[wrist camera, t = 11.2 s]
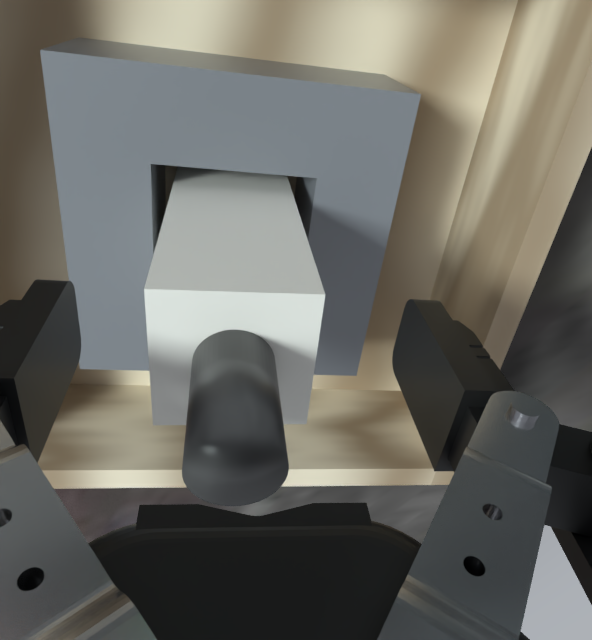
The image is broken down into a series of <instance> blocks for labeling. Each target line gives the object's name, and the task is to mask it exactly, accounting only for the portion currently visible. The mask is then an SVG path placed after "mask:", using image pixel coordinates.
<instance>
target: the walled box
mask: <svg viewBox="0 0 592 640" xmlns="http://www.w3.org/2000/svg"><path fill="white" fill-rule="evenodd" d="M78 37H80V38H88V39H96V40H105V41H113V42H121V43H129V44H137V45H146V46H154V47H162V48H170V49H179V50H187V51H195V52H203V53H212V54H220V55H228V56H236V57H244V58H253V59H261V60H269V61H277V62H286V63H294V64H302V65H310V66H319V67H327V68H335V69H343V70H351V71H360V72H368V73H376V74H384V75H386V76H388V77H390V78H392V79H394V80H396V81H397V82H399V83H401V84H403V85H405V86H407V87H409V88H410V89H412V90H414V91H416V92H418V93H420V94H421V97H420V102H419V106H418V110H417V115H416V119H415V123H414V128H413V132H412V137H411V141H410V145H409V150H408V154H407V158H406V163H405V167H404V171H403V176H402V180H401V184H400V189H399V193H398V197H397V202H396V206H395V211H394V215H393V219H392V224H391V228H390V232H389V237H388V241H387V245H386V250H385V254H384V258H383V263H382V267H381V271H380V276H379V280H378V285H377V289H376V293H375V298H374V302H373V306H372V311H371V315H370V319H369V324H368V328H367V332H366V337H365V341H364V345H363V350H362V354H361V359H360V363H359V367H358V372H357V376H339V375H314V376H313V383H312V390H311V397H310V403H309V410H308V417H307V424H283V425H284V432H285V440H286V448H287V455H288V463H289V471H288V475H287V478H286V480H285V482H284V483H283V485H282V486H367V485H449V483H450V481H451V479H452V477H453V475H454V471H434V469H433V467H432V464H431V462H430V459H429V457H428V454H427V452H426V450H425V447H424V445H423V442H422V440H421V437H420V435H419V433H418V430H417V428H416V425H415V423H414V420H413V418H412V416H411V413H410V411H409V408H408V406H407V404H406V401H405V399H404V396H403V394H402V391H401V389H400V387H399V384H398V382H397V379H396V377H395V374H394V371H393V365H392V356H393V349H394V345H395V341H396V337H397V334H398V330H399V326H400V322H401V319H402V315H403V311H404V307H405V305H406V303H407V301H408V300H409V299H419V300H438V301H440V302H441V303H442V305H443V306H444V308H445V309H446V311H447V312H448V314H449V315H450V317H451V318H452V320H458V321H460V322H461V323H462V324H464V325H465V326H466V327H467V328H469V329H470V330H471V331H473V332H474V333H475V335H476V336H477V338H478V339H479V340H480V342H481V343H482V345H483V348H485V349H486V351H487V352H488V353H489V355H490V359H493V361H494V362H495V364H496V365H497V367H498V368H499V369H501V366H502V364H503V361H504V359H505V357H506V354H507V352H508V349H509V347H510V344H511V342H512V340H513V337H514V335H515V332H516V330H517V327H518V325H519V323H520V320H521V318H522V315H523V313H524V310H525V308H526V305H527V303H528V301H529V298H530V296H531V293H532V291H533V288H534V286H535V284H536V281H537V279H538V276H539V274H540V271H541V269H542V267H543V264H544V262H545V259H546V257H547V254H548V252H549V250H550V247H551V245H552V242H553V240H554V237H555V235H556V233H557V230H558V228H559V225H560V223H561V220H562V218H563V216H564V213H565V211H566V208H567V206H568V203H569V201H570V199H571V196H572V194H573V191H574V189H575V186H576V184H577V182H578V179H579V177H580V174H581V172H582V169H583V167H584V164H585V162H586V160H587V157H588V155H589V152H590V150H591V147H592V0H0V305H2V304H3V303H5V302H7V301H8V300H21V299H22V298H23V297H24V295H25V294H26V292H27V291H28V289H29V288H30V286H31V285H32V283H33V282H34V281H35V280H37V279H40V280H59V281H69V278H68V270H67V262H66V254H65V246H64V238H63V230H62V222H61V214H60V206H59V198H58V190H57V182H56V174H55V166H54V158H53V150H52V142H51V134H50V126H49V118H48V110H47V102H46V94H45V86H44V78H43V70H42V62H41V54H40V50H41V49H44V48H47V47H50V46H53V45H57V44H60V43H63V42H66V41H69V40H72V39H75V38H78ZM177 168H178V166H169V165H165V182H166V208H167V204H168V200H169V197H170V193H171V189H172V186H173V182H174V179H175V175H176V171H177ZM287 177H288V180H289V183H290V187H291V190H292V193H293V196H295V188H296V180H297V177H296V176H287ZM185 432H186V425H153V418H152V403H151V388H150V372H149V371H138V370H98V369H80V365H79V363H78V366H77V368H76V371H75V373H74V375H73V378H72V380H71V383H70V385H69V388H68V390H67V392H66V395H65V397H64V400H63V402H62V405H61V407H60V409H59V412H58V414H57V417H56V419H55V422H54V424H53V427H52V429H51V431H50V434H49V436H48V439H47V441H46V444H45V446H44V448H43V451H42V453H41V456H40V458H39V461H38V465H39V467H40V468H41V470H42V471H43V473H44V474H45V476H46V478H47V479H48V481H49V482H50V484H51V486H52V487H53V489H63V488H164V487H186V485H185V483H184V481H183V478H182V464H183V453H184V442H185Z"/></svg>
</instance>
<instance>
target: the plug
mask: <svg viewBox="0 0 592 640" xmlns="http://www.w3.org/2000/svg"><path fill="white" fill-rule="evenodd" d="M144 297H145V312H146V327H147V342H148V357H149V372H150V388H151V403H152V418H153V425H186V432H185V442H184V453H183V464H182V478H183V481H184V483H185V485H186V487H187V488H188V489H189V490H190V491H191V492H192V493H193V494H194V495H195V496H197V497H198V498H200V499H202V500H204V501H207V502H209V503H213V504H217V505H222V506H242V505H248V504H252V503H255V502H258V501H261V500H263V499H265V498H267V497H269V496H270V495H272V494H273V493H275V492H276V491H277V490H278V489H279V488H280V487H281V486H282V485H283V483H284V482H285V480H286V478H287V475H288V471H289V463H288V455H287V448H286V440H285V432H284V425H283V424H307V417H308V410H309V403H310V397H311V390H312V383H313V376H314V369H315V362H316V356H317V349H318V342H319V335H320V328H321V321H322V314H323V308H324V301H325V292H324V289H323V286H322V282H321V279H320V276H319V273H318V270H317V267H316V264H315V261H314V258H313V255H312V251H311V248H310V245H309V242H308V239H307V236H306V233H305V230H304V227H303V224H302V221H301V217H300V214H299V211H298V208H297V205H296V202H295V199H294V196H293V193H292V190H291V187H290V183H289V180H288V177H287V176H285V175H273V174H262V173H250V172H238V171H227V170H215V169H204V168H192V167H181V166H178V168H177V171H176V175H175V179H174V182H173V186H172V189H171V193H170V197H169V200H168V204H167V208H166V211H165V215H164V218H163V222H162V226H161V229H160V233H159V237H158V240H157V244H156V247H155V251H154V255H153V258H152V262H151V266H150V269H149V273H148V276H147V280H146V284H145V287H144Z"/></svg>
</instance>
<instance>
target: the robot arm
mask: <svg viewBox="0 0 592 640" xmlns="http://www.w3.org/2000/svg"><path fill="white" fill-rule="evenodd" d="M80 354H81V333H80V326H79V318H78V310H77V302H76V295H75V288H74V285H73V283H72V282H71V281H59V280H40V279H37V280H35V281H34V282H33V283H32V285H31V286H30V288H29V289H28V291H27V292H26V294H25V295H24V297H23V298H22V299H21V300H8V301H7V302H5V303H3V304H2V305H0V640H530V639H528V638H527V637H526V636H525V635H524V634H523V633H522V632H521V626H522V622H523V618H524V613H525V608H526V604H527V599H528V595H529V591H530V586H531V582H532V577H533V572H534V568H535V564H536V559H537V555H538V550H539V546H540V541H541V537H542V532H543V528H544V525H548V526H551V527H552V530H553V532H554V533H555V535H556V537H557V539H558V541H559V543H560V545H561V547H562V549H563V551H564V553H565V555H566V556H567V558H568V560H569V562H570V564H571V566H572V568H573V570H574V572H575V574H576V576H577V578H578V579H579V581H580V583H581V585H582V587H583V589H584V591H585V593H586V595H587V597H588V598H589V601H590V603H591V604H592V432H589V431H585V430H580V429H576V428H572V427H568V426H564V425H561V424H559V421H558V419H557V417H556V415H555V414H554V412H553V411H552V410H551V409H550V408H549V407H548V406H546V405H545V404H544V403H542V402H541V401H539V400H538V399H536V398H534V397H532V396H530V395H527V394H524V393H520V392H516V391H514V390H513V388H512V387H511V385H510V384H509V382H508V381H507V380H506V378H505V377H504V375H503V374H502V372H501V371H500V369H499V368H498V367H497V365H496V364H495V362H494V361H493V359H490V355H489V353H488V352H487V351H486V349H485V348H483V345H482V343H481V342H480V340H479V339H478V338H477V336H476V335H475V333H474V332H473V331H471V330H470V329H469V328H467V327H466V326H465V325H464V324H462V323H461V322H460V321H458V320H452V318H451V317H450V315H449V314H448V312H447V311H446V309H445V308H444V306H443V305H442V303H441V302H440V301H438V300H419V299H409V300H408V301H407V303H406V305H405V307H404V311H403V315H402V319H401V322H400V326H399V330H398V334H397V337H396V341H395V345H394V349H393V356H392V365H393V371H394V374H395V377H396V379H397V382H398V384H399V387H400V389H401V391H402V394H403V396H404V399H405V401H406V404H407V406H408V408H409V411H410V413H411V416H412V418H413V420H414V423H415V425H416V428H417V430H418V433H419V435H420V437H421V440H422V442H423V445H424V447H425V450H426V452H427V454H428V457H429V459H430V462H431V464H432V467H433V469H434V471H454V475H453V477H452V479H451V481H450V483H449V486H448V488H447V490H446V492H445V494H444V497H443V499H442V501H441V503H440V505H439V507H438V510H437V512H436V514H435V516H434V518H433V521H432V523H431V525H430V527H429V529H428V531H427V534H426V536H425V538H424V540H423V542H422V544H421V543H419V542H418V541H416V540H415V539H413V538H412V537H410V536H408V535H406V534H405V533H403V532H401V531H399V530H397V529H394V528H392V527H390V526H387V525H384V524H381V523H378V522H374V521H371V519H370V515H369V511H368V507H367V503H312V504H308V505H304V506H300V507H296V508H292V509H288V510H284V511H280V512H276V513H272V514H268V515H264V516H250V515H245V514H241V513H236V512H231V511H227V510H222V509H217V508H213V507H208V506H203V505H199V504H187V505H140V506H139V512H138V517H137V523H136V524H133V525H129V526H125V527H122V528H120V529H117V530H114V531H111V532H109V533H107V534H105V535H103V536H101V537H99V538H97V539H95V540H93V541H92V542H90V543H88V542H87V541H86V539H85V538H84V536H83V535H82V533H81V531H80V530H79V528H78V527H77V525H76V523H75V522H74V520H73V519H72V517H71V516H70V514H69V512H68V511H67V509H66V508H65V506H64V504H63V503H62V501H61V500H60V498H59V497H58V495H57V493H56V492H55V490H54V489H53V487H52V486H51V484H50V482H49V481H48V479H47V478H46V476H45V474H44V473H43V471H42V470H41V468H40V467H39V465H38V461H39V458H40V456H41V453H42V451H43V448H44V446H45V444H46V441H47V439H48V436H49V434H50V431H51V429H52V427H53V424H54V422H55V419H56V417H57V414H58V412H59V409H60V407H61V405H62V402H63V400H64V397H65V395H66V392H67V390H68V388H69V385H70V383H71V380H72V378H73V375H74V373H75V371H76V368H77V366H78V363H79V359H80Z"/></svg>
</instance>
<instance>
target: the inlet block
mask: <svg viewBox="0 0 592 640" xmlns="http://www.w3.org/2000/svg"><path fill="white" fill-rule="evenodd" d="M40 54H41V62H42V70H43V78H44V86H45V94H46V102H47V110H48V118H49V126H50V134H51V142H52V150H53V158H54V166H55V174H56V182H57V190H58V198H59V206H60V214H61V222H62V230H63V238H64V246H65V254H66V262H67V270H68V278H69V281H71V282H72V283H73V285H74V288H75V295H76V302H77V310H78V318H79V326H80V333H81V354H80V359H79V365H80V369H98V370H138V371H149V357H148V342H147V327H146V312H145V297H144V287H145V284H146V280H147V276H148V273H149V269H150V266H151V262H152V258H153V255H154V251H155V247H156V244H157V240H158V237H159V233H160V229H161V226H162V222H163V218H164V215H165V211H166V182H165V165H169V166H181V167H192V168H204V169H215V170H227V171H238V172H250V173H262V174H273V175H285V176H296V177H297V180H296V188H295V196H294V199H295V202H296V205H297V208H298V211H299V214H300V217H301V221H302V224H303V227H304V230H305V233H306V236H307V239H308V242H309V245H310V248H311V251H312V255H313V258H314V261H315V264H316V267H317V270H318V273H319V276H320V279H321V282H322V286H323V289H324V292H325V301H324V308H323V314H322V321H321V328H320V335H319V342H318V349H317V356H316V362H315V369H314V375H339V376H357V372H358V367H359V363H360V359H361V354H362V350H363V345H364V341H365V337H366V332H367V328H368V324H369V319H370V315H371V311H372V306H373V302H374V298H375V293H376V289H377V285H378V280H379V276H380V271H381V267H382V263H383V258H384V254H385V250H386V245H387V241H388V237H389V232H390V228H391V224H392V219H393V215H394V211H395V206H396V202H397V197H398V193H399V189H400V184H401V180H402V176H403V171H404V167H405V163H406V158H407V154H408V150H409V145H410V141H411V137H412V132H413V128H414V123H415V119H416V115H417V110H418V106H419V102H420V97H421V94H420V93H418V92H416V91H414V90H412V89H410V88H409V87H407V86H405V85H403V84H401V83H399V82H397V81H396V80H394V79H392V78H390V77H388V76H386V75H384V74H376V73H368V72H360V71H351V70H343V69H335V68H327V67H319V66H310V65H302V64H294V63H286V62H277V61H269V60H261V59H253V58H244V57H236V56H228V55H220V54H212V53H203V52H195V51H187V50H179V49H170V48H162V47H154V46H146V45H137V44H129V43H121V42H113V41H105V40H96V39H88V38H80V37H78V38H75V39H72V40H69V41H66V42H63V43H60V44H57V45H53V46H50V47H47V48H44V49H41V50H40Z"/></svg>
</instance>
